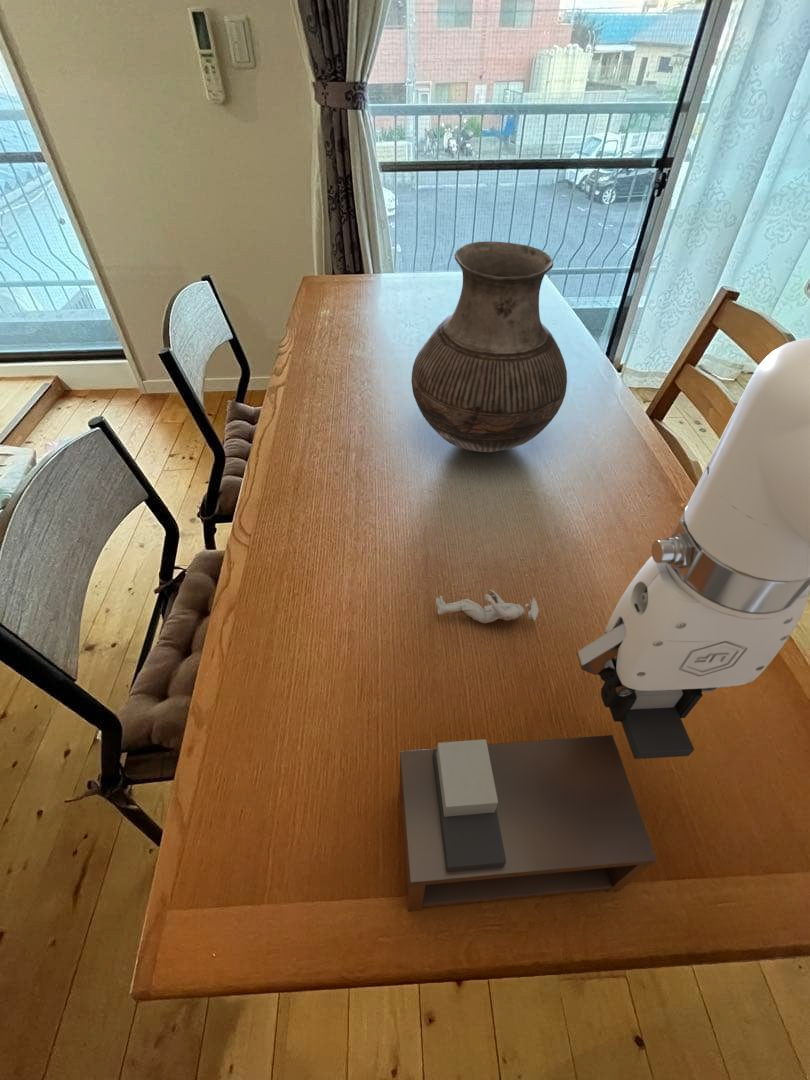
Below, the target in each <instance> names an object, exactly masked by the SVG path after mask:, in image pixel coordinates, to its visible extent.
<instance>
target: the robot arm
mask: <svg viewBox="0 0 810 1080" xmlns="http://www.w3.org/2000/svg"><path fill="white" fill-rule="evenodd" d="M636 573H637V574H635V576H634V578H633V579H632V580H631V582H630V583H629V584H628V586H627V588H626V589H625V591H624V592H623V594H622V596H621V597H620V599H619V600H618V603H617V604H616V606H615V608H614V610H613V612H612V613H611V616H610V618H609V620H608V622H607V625H606V628H605V630H604V634H603V635H601V636H600V637H598V638H596V639H595V640H593V641H592V642H590V643H588V644H587V645H585V646H583V647H582V648H580V649H579V650H577V652H576V657H577V660H578V663H579V666H580V669H581V670H582V671H584V672H587V673H589V674H591V675H594V676H599V677H600V679H601V681H603V682H604V683H603V685H602V687H601V688H600V697H601V701H602V703H603V706H604V707H605V708H609V711H610V714H611V717H612V720H613V722H615V723H618V722H620V723H621V721H622V720H624V718H625V717H626V715H627V714H628V712H629V711H630V709H631V708H632V706H633V704H634V703H635V701H636V699H637V696H636V693H635V690H641V691H656V690H680V689H681V690H682V692H683V695H682V697H681V698H680V699H679V701H678V702H677V703H676V705H675V707H676V710H677V712H678V714H679V716H680V718H681V719H686V718H687V717H688V715H689V713H691V711H692V710H693V708H695V706H696V705H697V704H698V702H699V701H700V700H701V699H702V697H703V696H704V695H703V693H711V692H713V691H715V690H717V689H718V688H730V687H738V686H742V685H746V684H750V683H752V682H754V681H755V680H756V679H757V678H758V677H760V676H761V674H763V672H764V671H765V670H766V669H767V668H768V666H769V665H770V664H771V663H772V662H773V660H774V659H775V657H776V656H777V655H778V654H779V652H780V651H781V649H782V648H783V647H784V645H785V644H786V642H787V641H788V640H789V638H790V637H791V636H792V633H793V632H794V630H795V628H796V627H797V625H798V623H799V622H800V619H801V618H802V615H803V613H804V611H805V609H806V606H807V604H808V601H809V597H810V337H805V338H800V339H796V340H793V341H788V342H786V343H784V344H782V345H781V346H779V347H777V348H776V349H774V350H772V351H771V352H769V354H768V355H767V356H765V358H763V360H761V362H760V363H759V364H758V365H757V367H756V368H755V370H754V372H753V373H752V375H751V377H750V379H749V381H748V383H747V385H746V386H745V388H744V390H743V392H742V395H741V397H740V398H739V400H738V402H737V404H736V407H735V409H734V410H733V412H732V415H731V417H730V418H729V420H728V423H727V424H726V426H725V428H724V430H723V432H722V435H721V436H720V438H719V441H718V442H717V444H716V446H715V448H714V450H713V452H712V454H711V456H710V458H709V460H708V462H707V465H706V466H705V468H704V470H703V472H702V474H701V476H700V478H699V481H698V482H697V484H696V486H695V489H694V491H693V492H692V494H691V496H690V498H689V500H688V503H687V505H686V506H685V508H684V510H683V512H682V513H681V516H680V518H679V519H678V522H677V524H676V526H675V527H674V530H673V532H672V534H671V536H669V537H666V539H662V540H654V541H653V542H652V545H651V556H650V557H649V558H648V559H647V561H646V562H645V563H644V564H643V566H642V567H641V568H640V569H639V570H638V572H636Z"/></svg>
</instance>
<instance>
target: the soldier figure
mask: <svg viewBox="0 0 810 1080" xmlns="http://www.w3.org/2000/svg"><path fill="white" fill-rule="evenodd" d="M489 592H491V593H493V594H491V595H490V594H488V593H485V594H484V600H487V601H488V602H489V603H490V604H487V605H483V607H484V608H483V607H482V606H481V605H480V604H479V603H477V602H476V601H474V600H471V599H469V598H465V599H464V598H463V599H460V600H457V601H454V602H449V603H447V602H445V601H444V597H443V595H439V597H436V599H435V606H436V607H437V615H438V616H440V615H444V614H453V613H459V612H463V613H464V614H465V615H466V616H468V617H470V618H472V619H473V620H474V621H477V622H479V623H482V624H487V623H493V622H496V621H497V620H498V619H499V620H502V621H507V622H508V621H510V620H511V621H512V620H517V619H518V618H519V617H521V616H523V614H525V618H526V619H527V620H531V619H532V620H533V622H536V620H537V618H538V616H539V613H540V608H539V605H538V603H537V600H536V599H535V597H533V598H532V600H531V603H525V608H524V607H523V606H522V604H520V603H513V602H505V601H504V600H503V598H501V596H500V595H499V594H498V593H497V592H496V591H495V590H493V589H489ZM493 597H494V598H495V599H496V601H495V600H494V598H493ZM527 607H529V611H528V612H526V608H527ZM527 614H528V616H527Z"/></svg>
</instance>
